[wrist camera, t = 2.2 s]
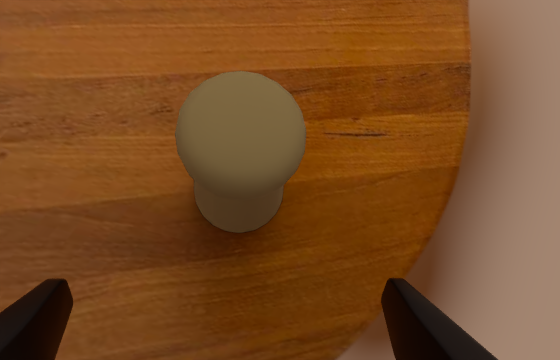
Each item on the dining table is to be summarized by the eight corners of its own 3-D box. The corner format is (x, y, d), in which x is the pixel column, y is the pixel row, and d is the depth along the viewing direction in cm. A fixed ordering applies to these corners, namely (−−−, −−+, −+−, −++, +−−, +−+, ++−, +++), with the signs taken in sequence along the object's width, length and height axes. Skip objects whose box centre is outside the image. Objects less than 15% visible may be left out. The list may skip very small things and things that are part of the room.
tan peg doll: (247, 130, 23) (257, 18, 13) (301, 196, 23) (358, 135, 12) (175, 179, 22) (118, 98, 11) (230, 252, 21) (225, 238, 10)
